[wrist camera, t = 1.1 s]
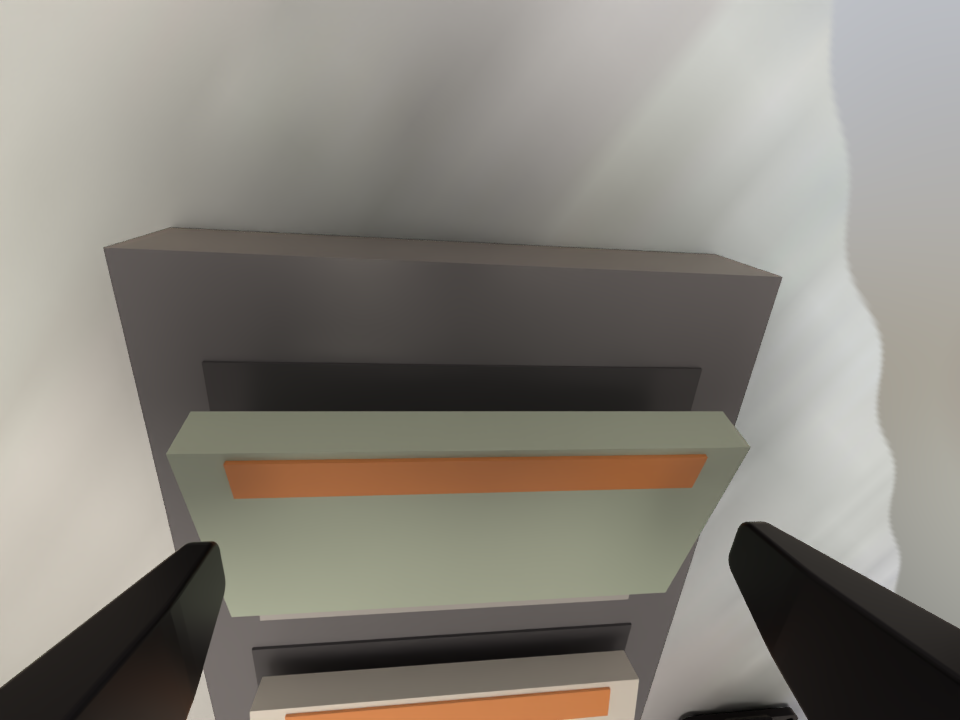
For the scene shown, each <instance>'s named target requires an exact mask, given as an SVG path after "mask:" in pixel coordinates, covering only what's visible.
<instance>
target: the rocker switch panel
mask: <svg viewBox="0 0 960 720" xmlns="http://www.w3.org/2000/svg"><path fill="white" fill-rule="evenodd" d="M103 248H104V252H105V257H106V261H107V265H108V269H109V274H110V278H111V282H112V286H113V290H114V295H115V299H116V303H117V307H118V311H119V316H120V320H121V324H122V328H123V332H124V337H125V341H126V345H127V349H128V354H129V358H130V362H131V366H132V370H133V375H134V379H135V383H136V387H137V391H138V396H139V400H140V404H141V408H142V413H143V417H144V421H145V425H146V429H147V434H148V438H149V442H150V446H151V450H152V455H153V459H154V463H155V467H156V472H157V476H158V480H159V484H160V488H161V493H162V497H163V501H164V505H165V509H166V514H167V518H168V522H169V526H170V531H171V535H172V539H173V543H174V547H175V552H176V551H177V550H178V549H180V548H181V547H182V546H184V545H185V544H187V543H190V542H201V540H200V538H199V535H198V533H197V530H196V528H195V525H194V523H193V520H192V518H191V515H190V513H189V510H188V508H187V505H186V503H185V501H184V498H183V496H182V493H181V491H180V488H179V486H178V483H177V481H176V478H175V476H174V473H173V471H172V468H171V466H170V463H169V461H168V458H167V456H166V453H167V451H168V450H169V448H170V446H171V444H172V443H173V441H174V439H175V437H176V436H177V434H178V432H179V431H180V429H181V427H182V425H183V424H184V422H185V420H186V419H187V417H188V415H189V413H190V412H191V411H723V413H724V414H725V415H726V416H727V418H728V419H729V420H730V422H731V423H732V424H733V425H734V426H735V423H736V420H737V417H738V414H739V411H740V407H741V404H742V401H743V398H744V395H745V392H746V389H747V386H748V383H749V379H750V376H751V373H752V370H753V367H754V364H755V361H756V358H757V354H758V351H759V348H760V345H761V342H762V339H763V336H764V333H765V330H766V326H767V323H768V320H769V317H770V314H771V311H772V308H773V305H774V301H775V298H776V295H777V292H778V289H779V286H780V283H781V280H782V277H781V276H778V275H775V274H772V273H769V272H766V271H763V270H760V269H757V268H754V267H751V266H749V265H746V264H743V263H740V262H737V261H734V260H731V259H728V258H725V257H722V256H719V255H716V254H696V253H676V252H656V251H636V250H616V249H596V248H575V247H555V246H535V245H515V244H495V243H475V242H454V241H434V240H414V239H394V238H374V237H353V236H333V235H313V234H293V233H273V232H253V231H232V230H212V229H192V228H172V227H169V228H166V229H163V230H159V231H156V232H153V233H150V234H146V235H143V236H140V237H136V238H133V239H130V240H127V241H123V242H120V243H117V244H113V245H110V246H107V247H103ZM699 535H700V534H699ZM698 538H699V536H698ZM698 538H697V540H696V541H695V543H694V545H693V546H692V548H691V550H690V552H689V553H688V555H687V557H686V558H685V560H684V562H683V563H682V565H681V567H680V569H679V570H678V572H677V574H676V575H675V577H674V579H673V581H672V582H671V584H670V586H669V587H668V589H667V591H666V592H665V593H648V594H630V595H613V596H595V597H577V598H560V599H542V600H525V601H507V602H489V603H472V604H454V605H437V606H419V607H401V608H384V609H366V610H349V611H331V612H313V613H296V614H278V615H261V616H243V617H231V614H230V612H229V609H228V607H227V605H226V602H225V600H224V597H223V601H222V604H221V608H220V611H219V615H218V618H217V622H216V625H215V628H214V632H213V635H212V639H211V642H210V646H209V649H208V653H207V656H206V660H205V663H204V667H203V670H204V674H205V678H206V682H207V686H208V691H209V695H210V699H211V703H212V707H213V712H214V716H215V720H250V709H251V706H252V704H253V701H254V698H255V696H256V693H257V690H258V687H259V685H260V682H261V679H262V677H267V676H281V675H295V674H308V673H322V672H335V671H349V670H362V669H376V668H389V667H403V666H416V665H430V664H443V663H457V662H471V661H484V660H498V659H511V658H525V657H538V656H552V655H565V654H579V653H592V652H606V651H619V650H624V652H625V654H626V656H627V658H628V659H629V661H630V663H631V665H632V667H633V669H634V671H635V672H636V674H637V676H638V678H639V685H638V693H637V701H636V709H635V717H634V720H640V719H641V716H642V713H643V710H644V707H645V704H646V701H647V697H648V694H649V691H650V688H651V685H652V682H653V679H654V676H655V673H656V669H657V666H658V663H659V660H660V657H661V654H662V651H663V648H664V644H665V641H666V638H667V635H668V632H669V629H670V626H671V623H672V620H673V616H674V613H675V610H676V607H677V604H678V601H679V598H680V595H681V591H682V588H683V585H684V582H685V579H686V576H687V573H688V570H689V567H690V563H691V560H692V557H693V554H694V551H695V548H696V545H697V542H698Z"/></svg>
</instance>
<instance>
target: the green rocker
mask: <svg viewBox="0 0 960 720" xmlns="http://www.w3.org/2000/svg"><path fill="white" fill-rule="evenodd" d="M749 449H750V446H749V445H748V443H747V442H746V441H745V440H744V438H743V437H742V436H741V434H740V433H739V432H738V431H737V429H736V428H735V427H734V425H733V424H732V423H731V422H730V420H729V419H728V418H727V416H726V415H725V414H724V413H723V411H191V412H190V413H189V415H188V417H187V419H186V420H185V422H184V424H183V425H182V427H181V429H180V431H179V432H178V434H177V436H176V437H175V439H174V441H173V443H172V444H171V446H170V448H169V450H168V451H167V453H166V456H167V458H168V461H169V463H170V466H171V468H172V471H173V473H174V476H175V478H176V481H177V483H178V486H179V488H180V491H181V493H182V496H183V498H184V501H185V503H186V505H187V508H188V510H189V513H190V515H191V518H192V520H193V523H194V525H195V528H196V530H197V533H198V535H199V538H200V540H201V542H203V541H214V542H216V543H217V544H218V545H219V548H220V553H221V558H222V563H223V569H224V574H225V580H226V585H225V593H224V600H225V602H226V605H227V607H228V609H229V612H230V614H231V617H243V616H261V615H278V614H296V613H313V612H331V611H349V610H366V609H384V608H401V607H419V606H437V605H454V604H472V603H489V602H507V601H525V600H542V599H560V598H577V597H595V596H613V595H630V594H648V593H665V592H666V591H667V589H668V587H669V586H670V584H671V582H672V581H673V579H674V577H675V575H676V574H677V572H678V570H679V569H680V567H681V565H682V563H683V562H684V560H685V558H686V557H687V555H688V553H689V552H690V550H691V548H692V546H693V545H694V543H695V541H696V540H697V538H698V536H699V534H700V533H701V531H702V529H703V528H704V526H705V524H706V522H707V521H708V519H709V517H710V516H711V514H712V512H713V511H714V509H715V507H716V505H717V504H718V502H719V500H720V499H721V497H722V495H723V493H724V492H725V490H726V488H727V487H728V485H729V483H730V482H731V480H732V478H733V476H734V475H735V473H736V471H737V470H738V468H739V466H740V464H741V463H742V461H743V459H744V458H745V456H746V454H747V453H748V451H749Z"/></svg>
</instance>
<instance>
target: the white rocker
mask: <svg viewBox="0 0 960 720" xmlns="http://www.w3.org/2000/svg"><path fill="white" fill-rule="evenodd" d="M638 685H639V678H638V676H637V674H636V672H635V671H634V669H633V667H632V665H631V663H630V661H629V659H628V658H627V656H626V654H625V652H624V650H619V651H606V652H592V653H579V654H565V655H552V656H538V657H525V658H511V659H498V660H484V661H471V662H457V663H443V664H430V665H416V666H403V667H389V668H376V669H362V670H349V671H335V672H322V673H308V674H295V675H281V676H267V677H262V679H261V682H260V685H259V687H258V690H257V693H256V696H255V698H254V701H253V704H252V706H251V709H250V720H634V717H635V709H636V701H637V693H638Z"/></svg>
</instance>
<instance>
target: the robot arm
mask: <svg viewBox="0 0 960 720" xmlns="http://www.w3.org/2000/svg"><path fill="white" fill-rule="evenodd" d="M729 566H730V569H731V572H732V574H733V576H734V578H735V580H736V583H737V585H738V587H739V589H740V591H741V593H742V595H743V597H744V600H745V602H746V604H747V606H748V608H749V610H750V612H751V614H752V617H753V619H754V621H755V623H756V625H757V627H758V629H759V631H760V634H761V636H762V638H763V640H764V642H765V644H766V646H767V648H768V650H769V652H770V654H771V656H772V658H773V659H774V661H775V663H776V665H777V667H778V669H779V670H780V672H781V674H782V675H783V677H784V679H785V681H786V682H787V684H788V686H789V688H790V689H791V691H792V693H793V694H794V696H795V698H796V700H797V701H798V703H799V705H800V707H801V708H802V710H803V712H804V714H805V715H806V717H807V719H808V720H960V629H959V628H957V627H955V626H954V625H952V624H950V623H948V622H946V621H944V620H943V619H941V618H939V617H937V616H936V615H934V614H932V613H930V612H928V611H926V610H925V609H923V608H921V607H919V606H917V605H916V604H914V603H912V602H910V601H908V600H906V599H905V598H903V597H901V596H899V595H897V594H896V593H894V592H892V591H890V590H888V589H887V588H885V587H883V586H881V585H879V584H878V583H876V582H874V581H872V580H870V579H869V578H867V577H865V576H863V575H861V574H859V573H858V572H856V571H854V570H852V569H850V568H849V567H847V566H845V565H843V564H841V563H840V562H838V561H836V560H834V559H832V558H830V557H829V556H827V555H825V554H823V553H821V552H820V551H818V550H816V549H814V548H812V547H811V546H809V545H807V544H805V543H803V542H802V541H800V540H798V539H796V538H794V537H792V536H791V535H789V534H787V533H785V532H783V531H782V530H780V529H778V528H776V527H774V526H773V525H771V524H769V523H766V522H761V521H760V522H744V523H742V524H741V525H740V526H739V528H738V531H737V533H736V536H735V539H734V542H733V545H732V547H731V550H730V553H729ZM225 585H226V580H225V574H224V569H223V563H222V558H221V553H220V548H219V545H218V544H217V543H216V542H214V541H203V542H190V543H187V544H185V545H184V546H182V547H181V548H180V549H178V550H177V551H176V552H175V553H173V554H172V555H171V556H169V557H168V558H167V559H166V560H164V561H163V562H162V563H160V564H159V565H158V566H156V567H155V568H154V569H153V570H151V571H150V572H149V573H147V574H146V575H145V576H144V577H142V578H141V579H140V580H138V581H137V582H136V583H135V584H133V585H132V586H131V587H129V588H128V589H127V590H126V591H124V592H123V593H122V594H120V595H119V596H118V597H117V598H115V599H114V600H113V601H111V602H110V603H109V604H108V605H106V606H105V607H104V608H102V609H101V610H100V611H99V612H97V613H96V614H95V615H93V616H92V617H91V618H89V619H88V620H87V621H86V622H84V623H83V624H82V625H80V626H79V627H78V628H77V629H75V630H74V631H73V632H71V633H70V634H69V635H68V636H66V637H65V638H64V639H62V640H61V641H60V642H59V643H57V644H56V645H55V646H53V647H52V648H51V649H50V650H48V651H47V652H46V653H44V654H43V655H42V656H41V657H39V658H38V659H37V660H35V661H34V662H33V663H32V664H30V665H29V666H28V667H26V668H25V669H24V670H23V671H21V672H20V673H19V674H17V675H16V676H15V677H13V678H12V679H11V680H10V681H8V682H7V683H6V684H4V685H3V686H2V687H1V688H0V720H186V719H187V716H188V714H189V711H190V708H191V705H192V703H193V700H194V697H195V694H196V690H197V687H198V684H199V681H200V677H201V674H202V670H203V667H204V663H205V660H206V656H207V653H208V649H209V646H210V642H211V639H212V635H213V632H214V628H215V625H216V622H217V618H218V615H219V611H220V608H221V604H222V601H223V597H224V593H225ZM797 719H798V718H797V716H796V714H795V713H794V711H793V710H792V708H790V707H784V708H773V709H763V710H753V711H742V712H732V713H722V714H711V715H701V716H691V717H687V718H685V719H684V720H797Z"/></svg>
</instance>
